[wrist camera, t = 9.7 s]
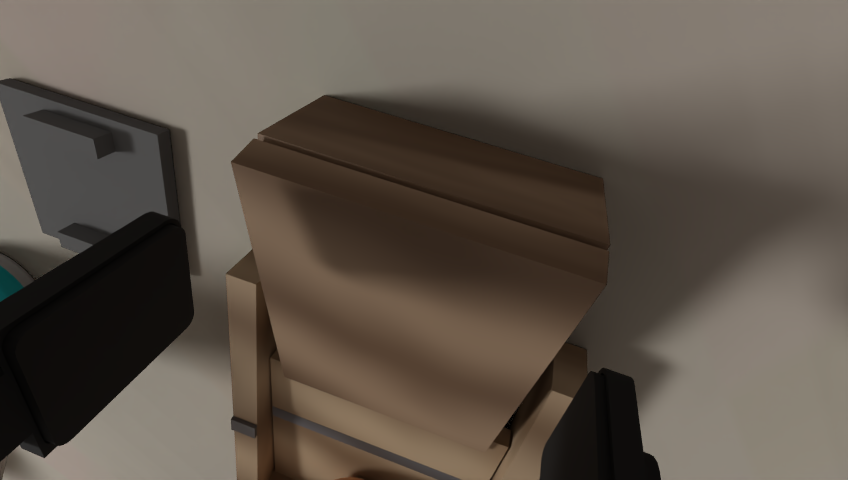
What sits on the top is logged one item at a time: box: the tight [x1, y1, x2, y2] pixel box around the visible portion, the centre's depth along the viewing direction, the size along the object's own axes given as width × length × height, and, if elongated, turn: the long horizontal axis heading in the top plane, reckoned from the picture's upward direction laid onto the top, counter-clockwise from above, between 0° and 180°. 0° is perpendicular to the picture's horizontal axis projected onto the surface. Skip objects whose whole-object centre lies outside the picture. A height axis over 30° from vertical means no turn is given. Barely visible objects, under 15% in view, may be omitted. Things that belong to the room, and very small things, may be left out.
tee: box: [0, 78, 180, 253], centre depth 19 cm, size 7×7×1 cm
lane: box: [226, 249, 587, 480], centre depth 21 cm, size 17×13×5 cm
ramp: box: [231, 95, 610, 453], centre depth 16 cm, size 12×9×5 cm
